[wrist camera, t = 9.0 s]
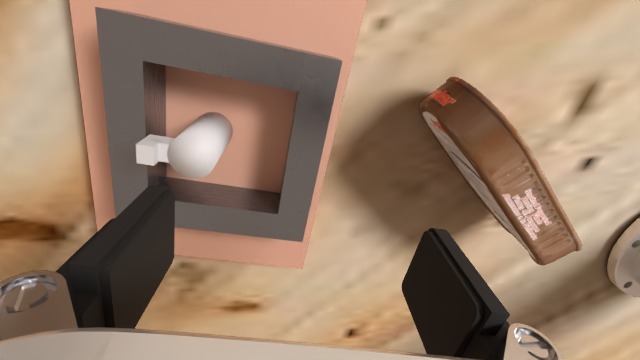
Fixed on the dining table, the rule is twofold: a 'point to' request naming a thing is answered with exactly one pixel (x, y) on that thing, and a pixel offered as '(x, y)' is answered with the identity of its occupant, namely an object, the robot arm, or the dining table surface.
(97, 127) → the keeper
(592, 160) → the dining table surface
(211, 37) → the grey square frame
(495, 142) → the tin
